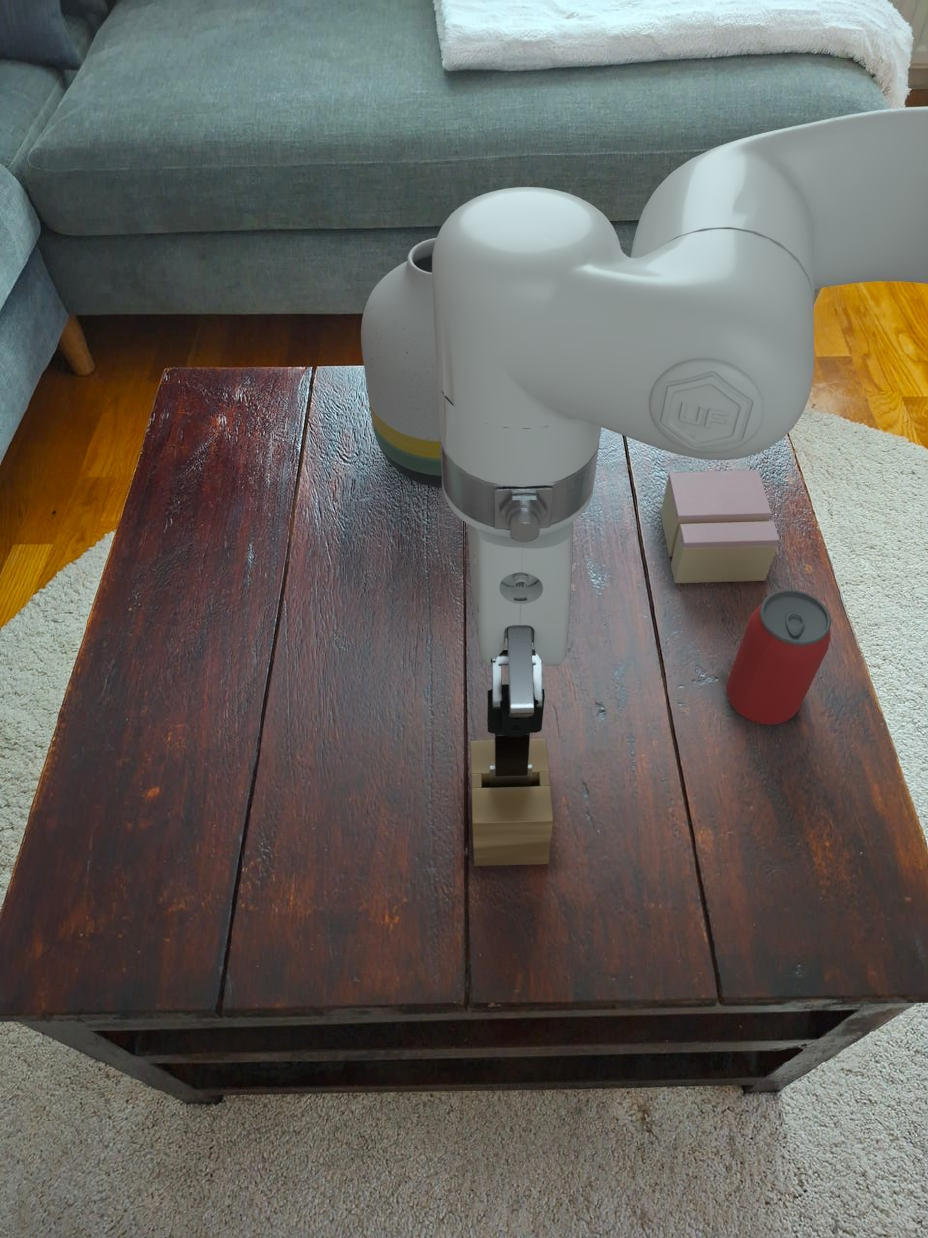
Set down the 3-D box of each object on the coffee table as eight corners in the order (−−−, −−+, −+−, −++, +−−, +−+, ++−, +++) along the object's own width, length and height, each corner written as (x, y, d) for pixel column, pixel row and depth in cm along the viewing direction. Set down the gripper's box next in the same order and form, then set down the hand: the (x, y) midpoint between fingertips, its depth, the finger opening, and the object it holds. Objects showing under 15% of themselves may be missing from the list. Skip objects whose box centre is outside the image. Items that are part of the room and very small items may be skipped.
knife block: (548, 864, 75) (553, 821, 69) (474, 866, 76) (472, 823, 69) (542, 786, 80) (546, 738, 73) (472, 788, 80) (470, 740, 73)
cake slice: (765, 581, 93) (780, 540, 88) (674, 583, 93) (684, 542, 88) (760, 561, 94) (774, 520, 90) (670, 564, 94) (679, 523, 90)
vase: (376, 406, 110) (351, 211, 91) (519, 398, 111) (524, 202, 92) (376, 509, 100) (348, 315, 81) (534, 500, 100) (543, 304, 81)
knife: (529, 833, 77) (536, 734, 64) (490, 834, 77) (489, 735, 64) (528, 815, 78) (534, 714, 65) (489, 816, 78) (488, 716, 65)
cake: (757, 554, 95) (771, 513, 90) (669, 557, 95) (678, 515, 90) (746, 511, 99) (758, 469, 94) (660, 514, 99) (668, 472, 94)
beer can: (722, 720, 83) (751, 640, 74) (727, 661, 87) (755, 577, 78) (798, 734, 82) (838, 655, 73) (800, 674, 86) (838, 591, 76)
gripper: (616, 598, 40) (583, 784, 54) (579, 348, 51) (559, 557, 64) (441, 602, 40) (452, 788, 54) (440, 351, 51) (449, 559, 64)
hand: (510, 662), depth 59 cm, fingers open, 9 cm apart
